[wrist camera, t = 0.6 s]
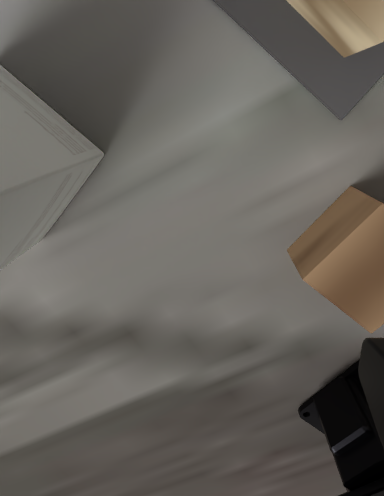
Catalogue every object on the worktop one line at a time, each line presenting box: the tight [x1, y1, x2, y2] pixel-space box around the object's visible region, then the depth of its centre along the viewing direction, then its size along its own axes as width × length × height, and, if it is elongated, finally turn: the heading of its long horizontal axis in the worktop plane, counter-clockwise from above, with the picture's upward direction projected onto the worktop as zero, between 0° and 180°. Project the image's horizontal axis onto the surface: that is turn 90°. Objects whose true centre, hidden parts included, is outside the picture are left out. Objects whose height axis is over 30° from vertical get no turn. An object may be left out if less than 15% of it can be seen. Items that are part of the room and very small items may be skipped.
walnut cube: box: [287, 186, 384, 333], centre depth 18 cm, size 5×5×4 cm
